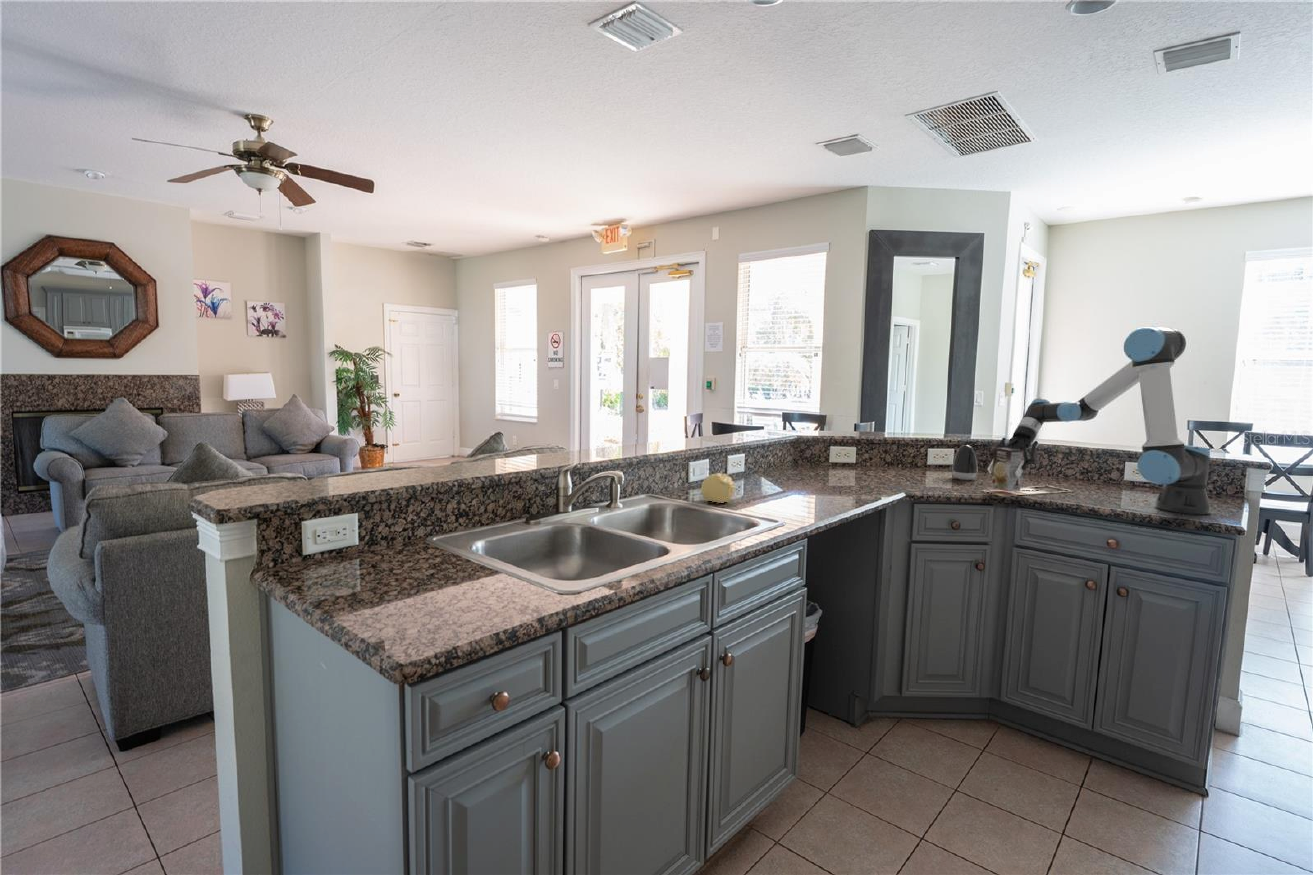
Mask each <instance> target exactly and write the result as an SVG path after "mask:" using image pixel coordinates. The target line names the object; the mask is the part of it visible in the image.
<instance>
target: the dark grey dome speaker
mask: <svg viewBox="0 0 1313 875" xmlns="http://www.w3.org/2000/svg"><path fill="white" fill-rule="evenodd" d="M978 470H979V468H978V461H977V456H976V453H975V449H974V448H973V447H972V446H971V445H969V444H963V445H961V446H960V447H959V449H958V450H956V453H955V456H954V459H953V463H952V467H951V471H952V474H953V476H954V477H955V478H956V479H958V480H961V481H970V480H973V479H975V477H976V476H977V474H978Z"/></svg>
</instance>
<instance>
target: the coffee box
mask: <svg viewBox="0 0 1313 875" xmlns="http://www.w3.org/2000/svg"><path fill="white" fill-rule="evenodd" d="M993 449H994V458H993V471H992V474H991V488H993V489H1000V490H1004V491H1008V492H1009V491H1020V489H1021V487H1022V476H1023V475H1022V474H1023V473H1022V474H1021V475H1020V477H1019V478H1017V476H1016V474H1015V472H1016V470H1017V468H1018V467H1019V465H1020V463H1021V461H1022V460H1023V461H1024V455H1023V452H1024V451H1023V450H1018V449H1013V448H1012V447H1011V448H1008V447H1002V448H995V447H994V448H993Z"/></svg>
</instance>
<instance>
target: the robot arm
mask: <svg viewBox="0 0 1313 875" xmlns="http://www.w3.org/2000/svg"><path fill="white" fill-rule="evenodd" d="M1186 346H1187V340H1186V337H1185V336H1184V334H1183V333H1182V332H1181V331H1179V330H1178V329H1175V328H1173V327H1159V326H1158V327H1157V326H1145V327H1139V328H1137V329H1135V330H1133V331H1132V332H1130V333H1129V334H1128V336H1126V338H1125V341H1124V342H1123V351H1124V353H1125V356H1126V357H1127V358H1128V359H1130V361H1129V362H1127V364H1125V365H1124V366H1123V367H1121V368H1120V369H1119V370H1117V371H1116V372H1115V373H1114V374H1112V375H1111V376H1110V377H1108V378H1107V379H1106V380H1104V381H1102V382H1101V384H1099V385H1098V386H1096V387H1095V388H1093V389H1092V390H1091V391H1089V392H1088V393H1087V394H1085V395H1084V396H1083V397H1081V398H1080V399H1079V400H1077V401H1061V402H1053V403H1052V402H1050V401H1049V400H1048V399H1045V398H1041V397H1040V398H1039V397H1038V398H1035V399H1033V400H1032V401H1031V403H1030V404H1029V405H1028V407H1027V409H1026V411H1025V412H1024V414H1023V416H1022V418H1021V420H1020V422H1019V423H1018V425H1017V427H1016V428H1015V430H1014V432H1013V433H1012V437H1011V438H1008V439H1007V438H1006V437H1002V438H1001V440H1000V442H999V443H998V444H997V445H996V446H995V447H994V448H1002V447H1008V448H1013V449H1018V450H1023V451H1024V452H1023V460H1022V461H1021V463H1020V465H1019V467H1018V468H1017V470H1016V472H1015V474H1016V476H1017V478H1019V477H1020V475H1021V474H1023V472H1024V471H1026V470H1027V468H1028V467H1029V465H1031V464H1032V465H1036V461H1037V454H1038V453H1037V452H1038V449H1039V448H1040V443H1039V442H1038V441H1037V440H1035V439H1036V437H1037V435H1038V433H1039V431H1040V429H1041V428H1042V426H1043V424H1044V423H1059V422H1063V423H1064V422H1065V423H1067V422H1078V421H1079V422H1085V421H1091V420H1093V419H1095V418H1096V417H1097V416H1098V414H1099V411H1101V410H1102V409H1103V408H1105V407H1106V406H1108V404H1110V403H1112V402H1113V401H1115V400H1116V399H1117V398H1119V397H1120V396H1122V395H1123V394H1125V393H1126V392H1127V391H1128V390H1130V389H1131V388H1133V387H1134V386H1136V385H1137V384H1138V383H1139V385H1140V386H1139V388H1140V395H1141V404H1142V411H1143V420H1144V429H1145V430H1144V431H1145V438H1146V439H1145V440H1146V441H1145V442H1144V443H1143V444H1142V445H1141V450H1142V452H1141V453H1142V454H1141V455H1140V457H1139V458H1138V460H1137V464H1136V466H1137V470H1138V474H1139V475H1140V476H1141V477H1142V478H1143V479H1145V481H1148V483H1152V484H1155V485H1163V487H1162V489H1161V491H1160V493H1159V495H1158V496H1157V498H1156V500H1155V508H1156V509H1160V510H1164V511H1168V512H1173V513H1178V514H1188V515H1209V514H1210V513H1211V504H1210V501H1209V497H1208V494H1207V483H1208V475H1209V469H1210V460H1211V450H1210V449H1209V448H1207V447H1205V446H1197V445H1196V446H1195V445H1186V444H1185V442H1184V441H1183V440H1180V439H1179V437H1178V436H1179V435H1178V428H1177V419H1176V412H1175V403H1174V393H1173V386H1172V384H1173V383H1172V377H1171V368H1172V367H1173V366H1174V365H1175V363H1176V362H1175V361H1176V360H1177V359H1178V358H1179V357H1181V356H1182V355H1183V353H1184V352H1185V350H1186ZM1034 440H1035V441H1034ZM1030 447H1031V451H1030V457H1029V453H1028V448H1030ZM994 448H993V449H992V450H991V451H989V452H988V456H989V457H990V460H989V462H988V463H989V465H988V467H987V471H988V473H989V474H991V475H992V471H993V458H994Z"/></svg>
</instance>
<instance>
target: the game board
mask: <svg viewBox="0 0 1313 875" xmlns="http://www.w3.org/2000/svg"><path fill="white" fill-rule="evenodd" d="M1045 486H1048V487H1047V488H1051V487H1052V488H1051V489H1055V488H1056V490H1061V491H1048V490H1047V491H1046V490H1042V489H1039V488H1046V487H1045ZM1035 487H1039V488H1035ZM1022 490H1025V491H1022ZM1026 490H1030V491H1026ZM1032 490H1034V491H1032ZM1035 490H1039V491H1035ZM1065 490H1068V491H1065ZM983 491H984V493H987V492H989V493H988V494H991V493H992V495H995V496H999V497H1004V498H1011V496H1014V497H1018V496H1017V495H1028V496H1038V495H1039V496H1040V495H1049V494H1050V493H1054V494H1062V493H1061V492H1067V493H1074V490H1071V489H1065V488H1061V487H1056V486H1053V485H1037V486H1036V485H1034V486H1023V487H1022V486H1021V489H1020V491H1009V492H1008V491H1004V490H1000V489H997V488H993V489H992V488H991V489H982V490H981V492H983ZM1050 495H1051V494H1050Z"/></svg>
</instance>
